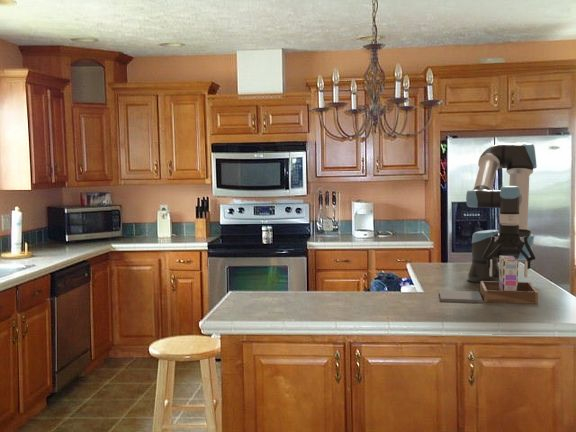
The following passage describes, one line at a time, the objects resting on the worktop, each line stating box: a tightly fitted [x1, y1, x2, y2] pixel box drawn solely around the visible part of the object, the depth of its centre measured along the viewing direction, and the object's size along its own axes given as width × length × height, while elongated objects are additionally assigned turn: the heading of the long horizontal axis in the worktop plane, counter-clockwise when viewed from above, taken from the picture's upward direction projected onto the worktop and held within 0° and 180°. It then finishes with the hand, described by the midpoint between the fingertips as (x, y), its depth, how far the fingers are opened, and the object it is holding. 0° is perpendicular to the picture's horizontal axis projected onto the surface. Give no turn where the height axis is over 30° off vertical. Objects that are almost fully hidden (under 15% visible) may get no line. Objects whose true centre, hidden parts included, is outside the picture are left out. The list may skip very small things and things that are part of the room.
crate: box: [479, 281, 539, 304], centre depth 265 cm, size 20×20×4 cm
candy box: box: [498, 256, 519, 291], centre depth 265 cm, size 14×6×16 cm, turn 168°
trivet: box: [439, 289, 483, 304], centre depth 265 cm, size 16×16×1 cm
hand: (508, 276), depth 264 cm, fingers open, 13 cm apart
